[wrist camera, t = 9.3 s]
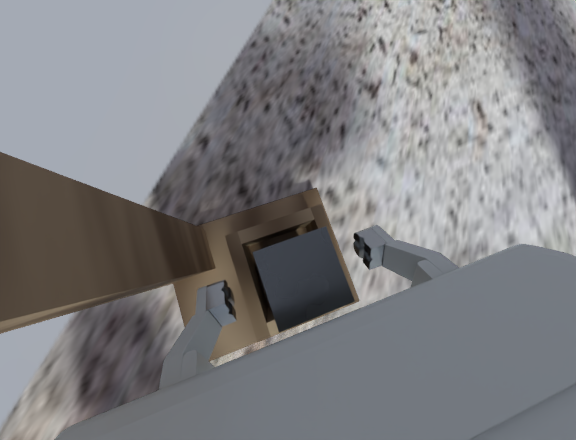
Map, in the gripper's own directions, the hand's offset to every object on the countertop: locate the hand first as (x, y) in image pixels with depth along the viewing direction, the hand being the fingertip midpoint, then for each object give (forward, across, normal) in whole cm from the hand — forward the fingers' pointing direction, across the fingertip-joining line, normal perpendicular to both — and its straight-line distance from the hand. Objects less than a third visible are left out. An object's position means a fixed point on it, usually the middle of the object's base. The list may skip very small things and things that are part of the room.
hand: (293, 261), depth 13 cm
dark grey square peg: (+5, 0, +6) cm, 8 cm away
